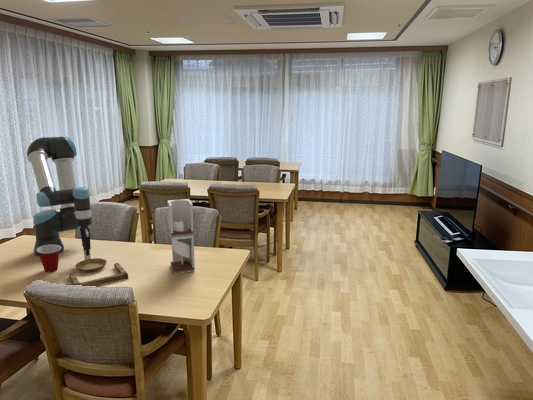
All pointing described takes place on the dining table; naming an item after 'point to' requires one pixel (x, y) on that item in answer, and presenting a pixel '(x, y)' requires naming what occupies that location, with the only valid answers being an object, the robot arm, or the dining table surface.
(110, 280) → the bay
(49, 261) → the plastic cup
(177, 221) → the display case
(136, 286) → the dining table surface
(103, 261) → the plant saucer
